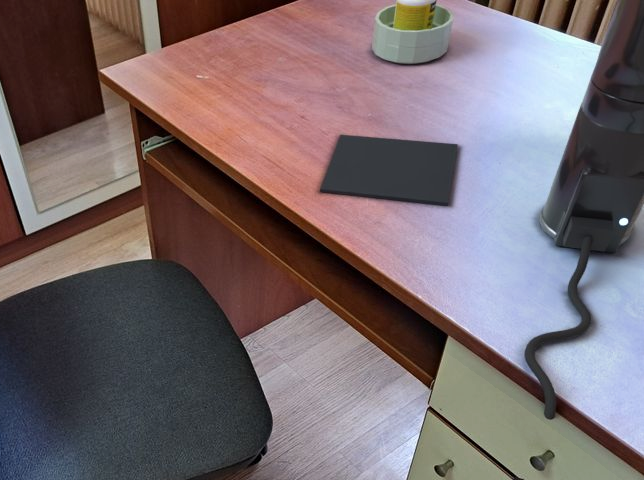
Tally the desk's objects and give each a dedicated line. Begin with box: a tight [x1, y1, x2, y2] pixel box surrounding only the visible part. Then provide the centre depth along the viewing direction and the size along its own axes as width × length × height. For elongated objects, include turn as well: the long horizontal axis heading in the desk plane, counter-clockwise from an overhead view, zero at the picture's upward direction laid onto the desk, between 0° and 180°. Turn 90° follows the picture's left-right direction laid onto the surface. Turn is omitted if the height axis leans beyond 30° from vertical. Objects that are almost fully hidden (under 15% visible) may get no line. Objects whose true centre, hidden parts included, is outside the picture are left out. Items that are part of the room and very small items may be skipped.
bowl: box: [371, 3, 455, 65], centre depth 109 cm, size 12×12×6 cm
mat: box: [319, 134, 459, 207], centre depth 88 cm, size 14×16×1 cm
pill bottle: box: [393, 0, 438, 31], centre depth 107 cm, size 6×6×11 cm
